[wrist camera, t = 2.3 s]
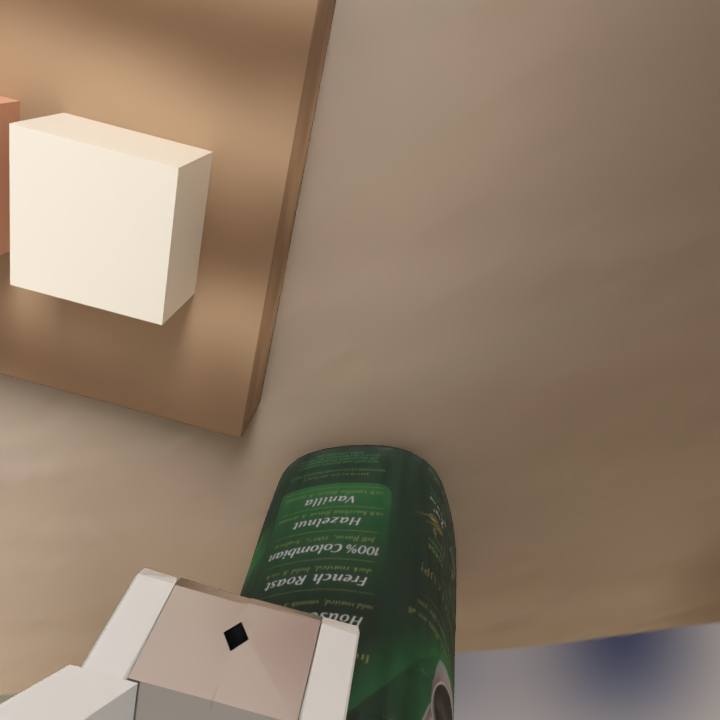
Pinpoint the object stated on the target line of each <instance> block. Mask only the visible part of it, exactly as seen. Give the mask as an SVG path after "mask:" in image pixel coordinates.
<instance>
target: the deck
mask: <svg viewBox="0 0 720 720" xmlns="http://www.w3.org/2000/svg"><path fill="white" fill-rule="evenodd" d="M335 2H336V0H0V96H3V97H6V98H10V99H14V100H18V101H20V121H24V120H29V119H34V118H39V117H44V116H49V115H54V114H60V113H67V114H71V115H75V116H79V117H83V118H86V119H90V120H94V121H98V122H102V123H105V124H109V125H113V126H117V127H121V128H124V129H128V130H132V131H136V132H140V133H143V134H147V135H151V136H155V137H159V138H162V139H166V140H170V141H174V142H178V143H182V144H185V145H189V146H193V147H197V148H201V149H204V150H208V151H212V152H213V155H212V163H211V170H210V178H209V186H208V194H207V202H206V210H205V218H204V225H203V233H202V241H201V249H200V257H199V265H198V272H197V280H196V288H195V293H194V294H193V295H192V296H191V297H190V298H189V299H188V300H187V301H186V302H185V303H184V304H183V305H182V306H181V307H180V308H179V309H178V310H177V311H176V312H175V313H174V314H173V315H172V316H171V317H170V318H169V319H168V320H167V321H166V322H165V323H164V324H163V325H159V324H155V323H152V322H148V321H144V320H140V319H137V318H133V317H129V316H125V315H122V314H118V313H114V312H110V311H107V310H103V309H99V308H95V307H92V306H88V305H84V304H81V303H77V302H73V301H69V300H66V299H62V298H58V297H54V296H51V295H47V294H43V293H39V292H36V291H32V290H28V289H24V288H21V287H17V286H13V285H10V251H9V252H7V253H5V254H2V255H0V373H1V374H5V375H9V376H12V377H16V378H20V379H23V380H27V381H31V382H34V383H38V384H42V385H46V386H49V387H53V388H57V389H60V390H64V391H68V392H72V393H75V394H79V395H83V396H86V397H90V398H94V399H98V400H101V401H105V402H109V403H112V404H116V405H120V406H124V407H127V408H131V409H135V410H138V411H142V412H146V413H149V414H153V415H157V416H161V417H164V418H168V419H172V420H175V421H179V422H183V423H187V424H190V425H194V426H198V427H201V428H205V429H209V430H213V431H216V432H220V433H224V434H227V435H231V436H235V437H239V438H240V437H241V435H242V434H243V432H244V430H245V428H246V426H247V424H248V423H249V421H250V419H251V417H252V415H253V413H254V411H255V410H256V408H257V406H258V404H259V402H260V399H261V394H262V389H263V383H264V378H265V373H266V367H267V362H268V357H269V352H270V346H271V341H272V336H273V330H274V325H275V320H276V315H277V309H278V304H279V299H280V293H281V288H282V283H283V277H284V272H285V267H286V262H287V256H288V251H289V246H290V240H291V235H292V230H293V224H294V219H295V214H296V209H297V203H298V198H299V193H300V187H301V182H302V177H303V172H304V166H305V161H306V156H307V150H308V145H309V140H310V134H311V129H312V124H313V119H314V113H315V108H316V103H317V97H318V92H319V87H320V82H321V76H322V71H323V66H324V60H325V55H326V50H327V44H328V39H329V34H330V29H331V23H332V18H333V13H334V7H335Z"/></svg>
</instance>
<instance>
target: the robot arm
mask: <svg viewBox="0 0 720 720" xmlns="http://www.w3.org/2000/svg"><path fill="white" fill-rule="evenodd" d="M359 634H360V633H359V628H358V626H355V625H352V624H348V623H344V622H340V621H337V620H333V619H329V618H325V617H323V618H322V619H321V616H319V615H315V614H311V613H307V612H303V611H299V610H296V609H292V608H288V607H284V606H280V605H276V604H272V603H269V602H265V601H261V600H257V599H253V598H251V599H250V598H246V597H243V596H240V595H236V594H233V593H230V592H226V591H223V590H220V589H216V588H213V587H210V586H207V585H203V584H200V583H197V582H193V581H190V580H187V579H183V578H178V577H174V576H171V575H168V574H164V573H161V572H158V571H154V570H151V569H148V568H144V569H143V570H142V571H140V572H139V573H138V574H137V575H136V576H135V578H134V580H133V581H132V583H131V585H130V586H129V588H128V590H127V591H126V593H125V595H124V596H123V598H122V600H121V601H120V603H119V605H118V606H117V608H116V610H115V611H114V613H113V615H112V616H111V618H110V620H109V621H108V623H107V625H106V626H105V628H104V630H103V631H102V633H101V635H100V636H99V638H98V640H97V641H96V643H95V645H94V646H93V648H92V650H91V651H90V653H89V655H88V656H87V658H86V660H85V661H84V663H83V665H82V666H81V667H79V666H75V665H71V664H69V665H67V666H65V667H64V668H62V669H60V670H59V671H57V672H55V673H53V674H52V675H50V676H48V677H46V678H45V679H43V680H41V681H39V682H38V683H36V684H34V685H32V686H31V687H29V688H27V689H26V690H24V691H22V692H20V693H19V694H17V695H15V696H13V697H12V698H10V699H8V700H7V701H5V702H3V703H1V704H0V720H346V715H347V709H348V703H349V696H350V690H351V684H352V678H353V671H354V665H355V659H356V653H357V646H358V640H359Z"/></svg>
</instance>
